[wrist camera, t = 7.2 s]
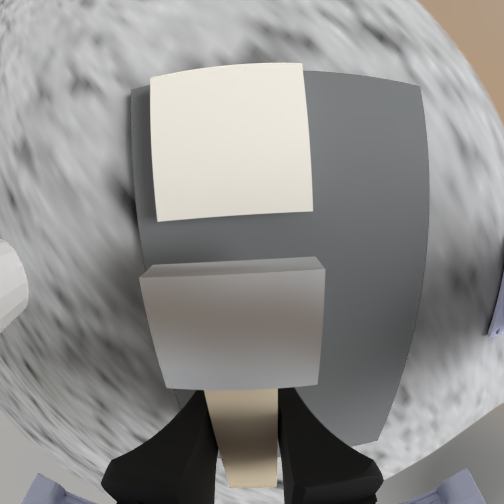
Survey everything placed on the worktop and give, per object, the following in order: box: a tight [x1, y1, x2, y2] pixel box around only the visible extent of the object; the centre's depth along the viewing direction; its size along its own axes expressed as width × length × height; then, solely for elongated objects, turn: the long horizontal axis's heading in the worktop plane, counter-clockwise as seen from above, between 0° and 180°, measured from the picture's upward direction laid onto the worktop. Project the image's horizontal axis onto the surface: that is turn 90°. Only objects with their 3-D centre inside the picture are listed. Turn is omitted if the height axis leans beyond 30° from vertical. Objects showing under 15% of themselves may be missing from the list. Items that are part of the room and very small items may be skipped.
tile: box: [150, 63, 313, 222], centre depth 10 cm, size 6×1×6 cm
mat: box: [131, 71, 429, 458], centre depth 13 cm, size 14×24×1 cm, turn 4°
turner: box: [139, 256, 325, 488], centre depth 11 cm, size 12×5×5 cm, turn 3°
